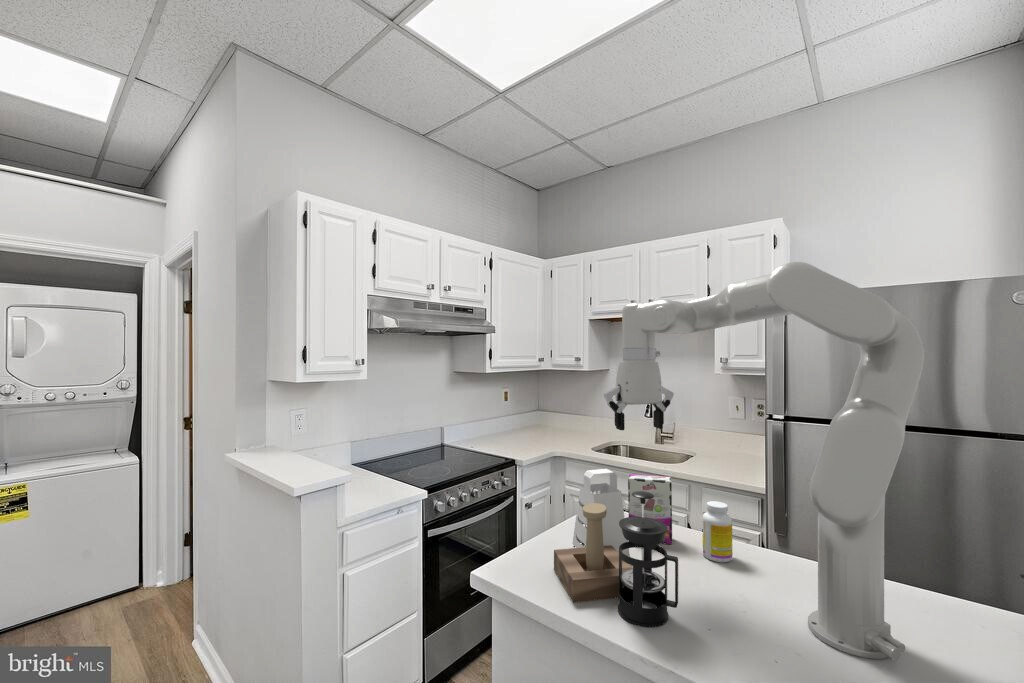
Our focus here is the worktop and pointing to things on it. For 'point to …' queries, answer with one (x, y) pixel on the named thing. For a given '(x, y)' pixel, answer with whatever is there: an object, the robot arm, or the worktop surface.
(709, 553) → the supplement bottle
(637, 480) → the candy bar box
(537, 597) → the worktop surface
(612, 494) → the grater
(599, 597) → the socket block
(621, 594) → the french press
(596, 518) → the handle
